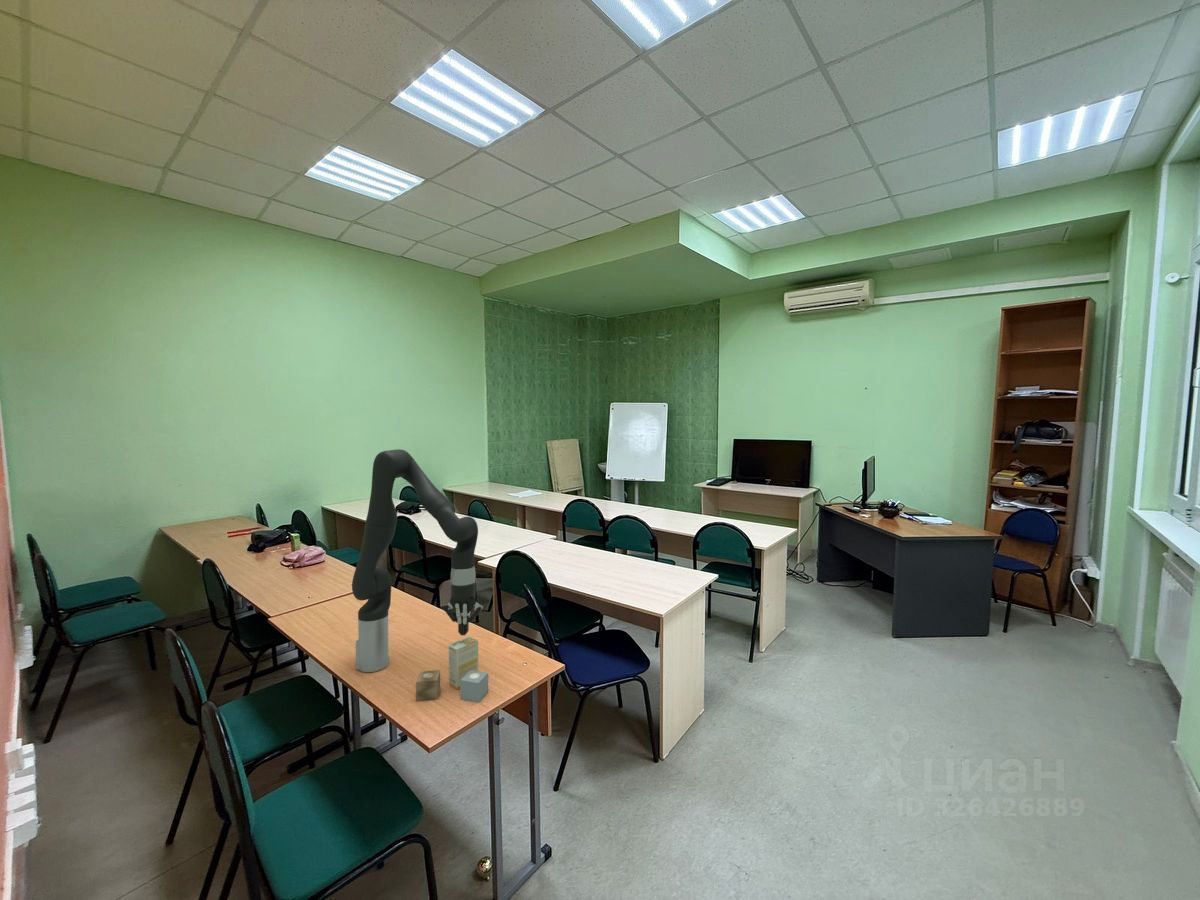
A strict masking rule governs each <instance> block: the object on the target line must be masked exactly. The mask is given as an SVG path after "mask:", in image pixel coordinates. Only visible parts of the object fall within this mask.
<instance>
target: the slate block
mask: <svg viewBox="0 0 1200 900" xmlns="http://www.w3.org/2000/svg"><path fill="white" fill-rule="evenodd" d="M459 689H460V690H459V693H460V694H459V696H460V697H459V699H460V700H462V701H466V702H467V701H468V702H475V703H479V702H481V700H482V699H483V698H484V697H485V696H486V694H487V693H488V692H489V672H485V671H479V670H478V671H473V670H470V671H469V672H468V673H467V674H466V675H465V676H464V677H463V678H462V679H461V680H460V688H459Z"/></svg>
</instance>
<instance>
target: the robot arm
mask: <svg viewBox="0 0 1200 900" xmlns="http://www.w3.org/2000/svg"><path fill="white" fill-rule="evenodd" d="M373 460H374V461H373V462H372V463H373V464H372V473H371V474H372V475H371V488H370V489H371V490H370V497H369V504H368V509H367V515H366V519H365V524H364V525H365V526H364V531H363V537H362V542H361V543H362V544H361V547H360V552H359V557H358V560H357V564H356V567H355V570H354V572H353V577H352V581H351V591H352V594H353V597H354V598H355V599H356V600H358V601H366V602H365V603H364V604H363V605H362V606H361V607H360V608H359V609H358V611H357V619H358V620H357V624H358V625H357V626H358V630H357V632H358V633H357V634H358V637H357V638H358V639H357V640H356V641H355V670H359V671H360V672H362V673H374V672H378V671H381V670H383V669H385V668H387V666H388V665H389V664H390V663H389V661H390V660H389V659H390V657H389V656H390V655H389V654H390V653H389V651H390V650H389V649H390V648H389V632H390V631H389V610H390V607H391V599H392V598H391V597H392V579H391V574H390V572H389V571H388V569H386V568H385V567H384V566H377V565H378V563H379V561H380V559H381V557H382V556H383V554H384V553H385V552H386V550H387V549H388V547H389V546H390V544H391V543H392V541H393V538H394V536H395V534H396V533H395V532H396V528H397V523H398V512H397V508H396V506H395V504H394V499H393V490H394V483H395V481H396V479H399V478H402V479H404V480H405V481H406V482H407V483H408V484H410V485H411V487H413V489H414V491H415V493H416V495H417V498H418V501H419V502H420V504H421V506H422V507H423V509H424V510H426V512H428V514H429V515H430V516H431V517H432V518H433V519H434V520H436V521H437V523H438V525H439V527H440V528H441V530H442V531H443V533H444V535H446V537H447V538H448V539H449V540H451V541H453V542H454V543H456V546H455V548H453V550H452V552H451V554H450V555H451V559H450V560H451V562H450V563H451V565H450V566H451V569H450V570H451V571H450V599H449V602H447V603H446V604H445V605H444V606H442V609H443V611H444V612H445V614H447V616H448V617H449V619H451V621H452V622H453V623H457V625H458V626H457V631H458V634H459V635H460V636H466V635H467V634H468V632H469V631H470V630H469V627H470V626H469V625H470V624H469V623H472V622H473V621H474V620H475V619H476V617H477V616H478V615H479V613H480V612H481V611H482V610H483V608H484V605H483V604H480V603H478V599H477V597H476V580H477V578H476V577H477V576H476V568H475V551H476V546H477V541H478V537H479V536H478V535H479V525H478V523H477V521H476V519H474V518H473V517H471V516H464V517H461V518H459V517H458V516H457V514H456V506H455V504H453V502H452V501H450V500H449V498H447V497H446V496H445V495H444V494H443V493H442V492H441V491H440V490H439V489H438V488H437V487H436V486H435V485H434V484H433V482H432V481H431V480H430V479H429V478H428V476H427V474H426V473H425V472H424V471H423V470H422V468H421V467H420V465H419V464H418V463H417V461H416V460H415V458H414V457H413V456H412V455H411V453H409V452H408V451H407V450H404V449H398V448H397V449H390V450H383V451H380V452H379V453H378V454H377V455H375V458H374V459H373ZM473 609H474V612H473V613H472V615H471V611H472V610H473Z"/></svg>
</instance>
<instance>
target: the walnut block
mask: <svg viewBox="0 0 1200 900" xmlns="http://www.w3.org/2000/svg"><path fill="white" fill-rule="evenodd" d="M440 691H441V670H440V669H437V670H425V671H419V672H418V676H417V678H416V681H415V702H424V701H435V700H438V699H439V694H440Z"/></svg>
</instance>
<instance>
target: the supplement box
mask: <svg viewBox="0 0 1200 900" xmlns="http://www.w3.org/2000/svg"><path fill="white" fill-rule="evenodd" d="M447 647H448V684H449V686H451V687H453V688H454V689H456V690H459V689H460V680H461V679H462V678H463V677H464V676H465V675H466V674H467V673H468V672H469V671H470V670H473V671H479V640H478V639H476V638H475V637H472V636H470V635H469V636H467V637H465V638H462V639H460V640H457V641H455V642H452V643H450V644H448V646H447Z"/></svg>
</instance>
